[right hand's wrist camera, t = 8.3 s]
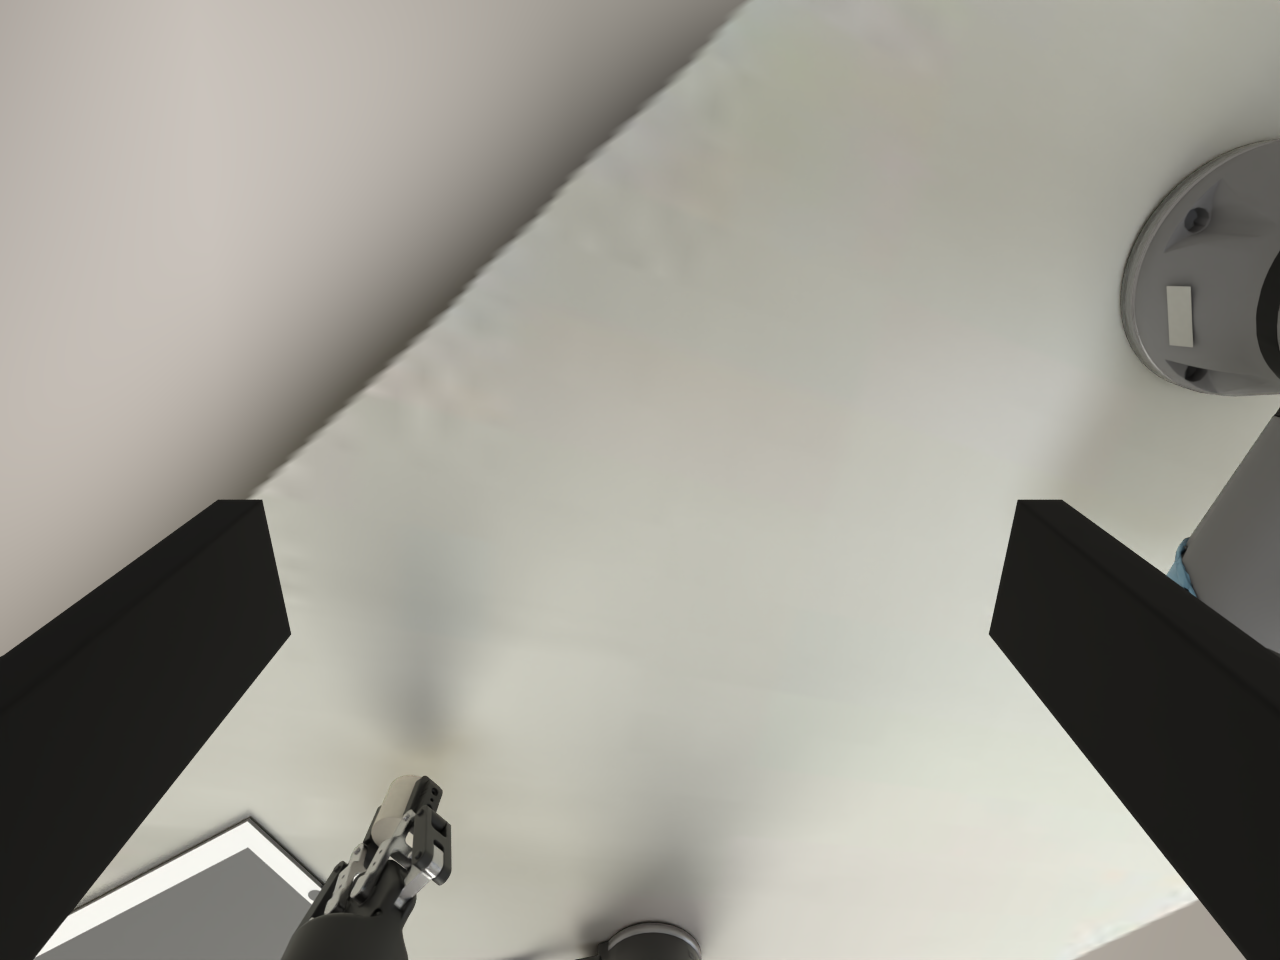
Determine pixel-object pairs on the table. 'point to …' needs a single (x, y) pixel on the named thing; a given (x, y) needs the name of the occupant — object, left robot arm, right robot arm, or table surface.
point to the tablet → (197, 906)
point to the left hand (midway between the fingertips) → (410, 798)
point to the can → (393, 809)
